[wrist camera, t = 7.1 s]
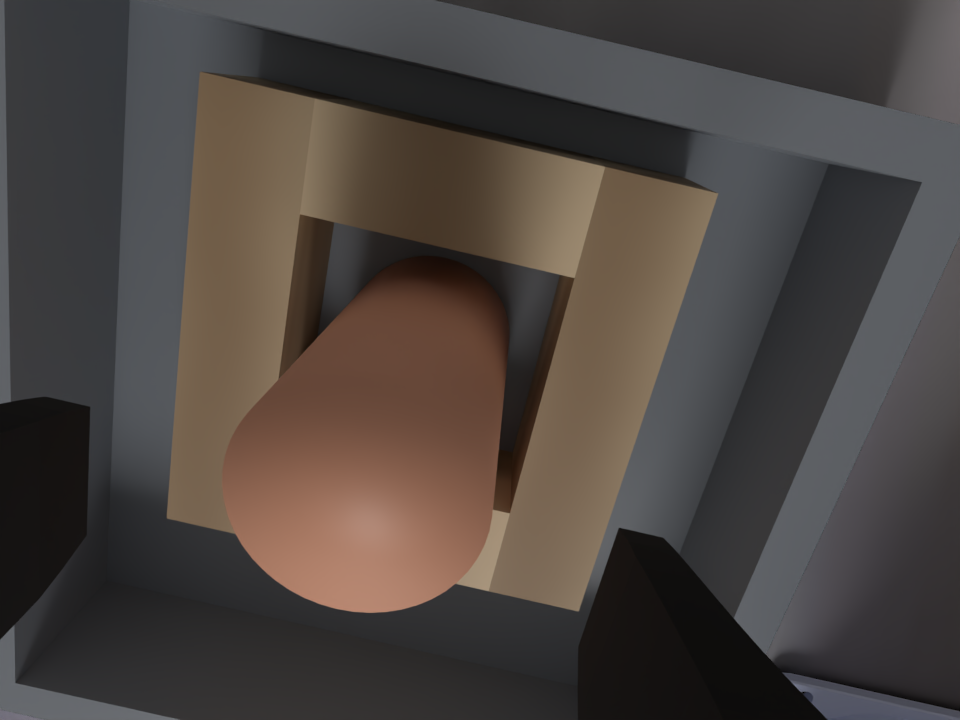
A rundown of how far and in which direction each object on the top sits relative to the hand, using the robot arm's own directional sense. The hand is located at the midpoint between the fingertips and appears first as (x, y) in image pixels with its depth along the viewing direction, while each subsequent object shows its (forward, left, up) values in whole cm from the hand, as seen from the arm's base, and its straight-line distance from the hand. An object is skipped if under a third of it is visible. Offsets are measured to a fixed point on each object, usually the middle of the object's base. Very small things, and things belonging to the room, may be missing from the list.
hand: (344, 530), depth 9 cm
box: (0, +2, -9) cm, 10 cm away
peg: (0, 0, -9) cm, 9 cm away
